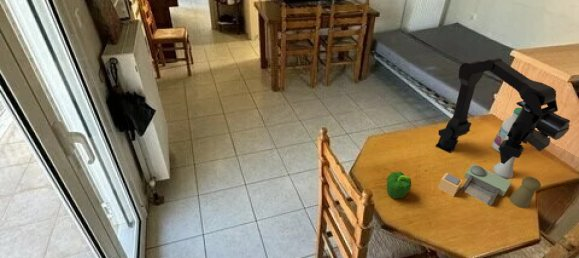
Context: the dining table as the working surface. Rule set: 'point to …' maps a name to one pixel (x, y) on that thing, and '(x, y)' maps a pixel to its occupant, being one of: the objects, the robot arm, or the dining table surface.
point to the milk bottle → (505, 129)
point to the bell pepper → (398, 185)
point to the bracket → (480, 190)
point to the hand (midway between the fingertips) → (506, 156)
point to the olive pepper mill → (525, 192)
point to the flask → (504, 168)
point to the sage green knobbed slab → (489, 178)
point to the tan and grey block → (449, 184)
